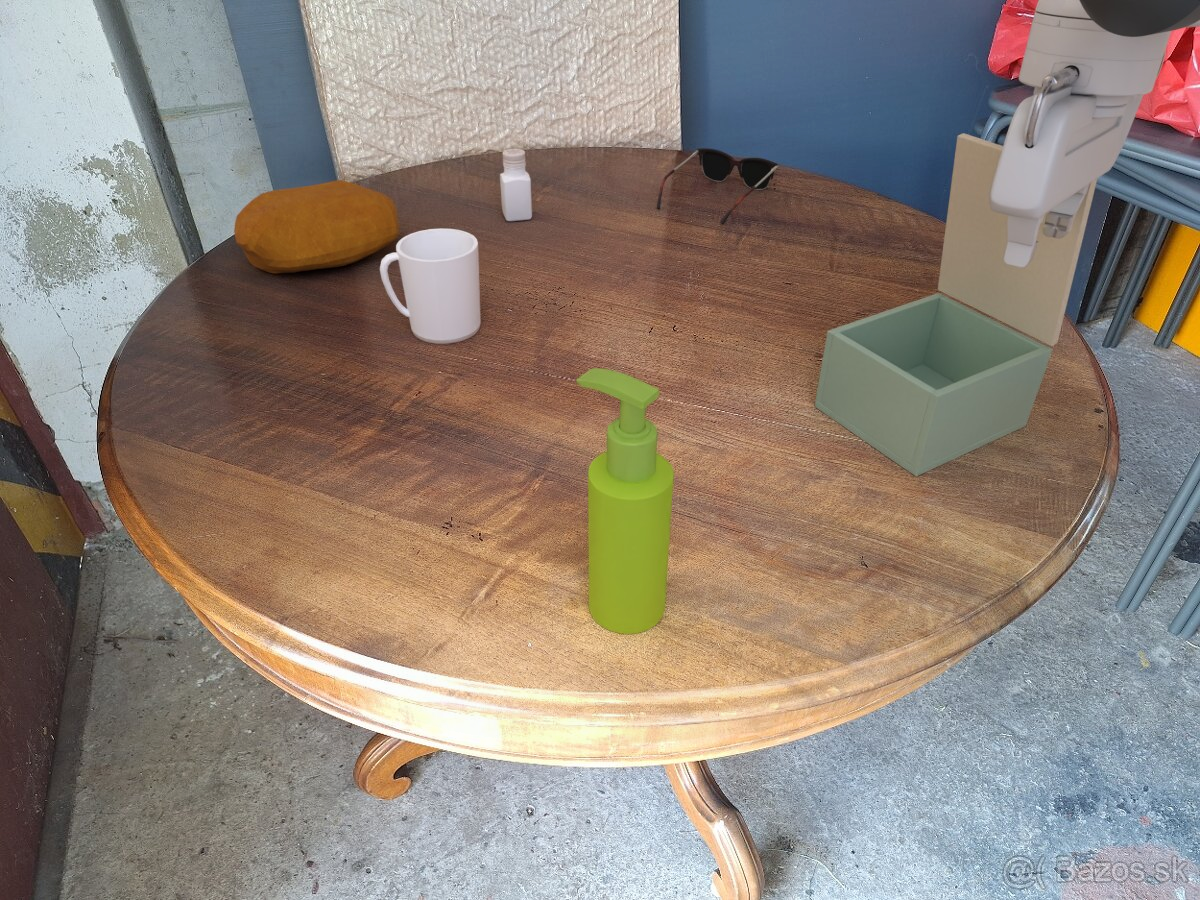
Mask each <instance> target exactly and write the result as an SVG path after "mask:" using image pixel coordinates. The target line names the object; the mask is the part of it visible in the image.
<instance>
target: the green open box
mask: <svg viewBox="0 0 1200 900" xmlns="http://www.w3.org/2000/svg"><path fill="white" fill-rule="evenodd" d="M824 344H825V345H824V349H823V354H822V360H821V366H820V370H819V371H820V372H819V378H818V383H817V387H816V388H817V389H816V394H815V402H814V408H816V410H817V409H818V410H819V411H820V412H822V413H823V414H824V415H826V416H827V417H829V418H830V419H832V420H833V421H835V422H836V423H838V424H839V425H840V426H842V427H843V428H845V429H846V430H848V431H849V432H851V433H852V434H853V435H855V436H857V437H858V438H859V439H860V440H862V441H863V442H865V443H866V444H868V445H869V446H871V447H873V448H874V449H875V450H876V451H878V452H880V453H881V454H882V455H884V456H885V457H887V458H888V459H890V460H892V461H893V462H894V463H895V464H897V465H898V466H900V467H901V468H903V469H904V470H906V471H907V472H908V473H910V474H911V475H913V476H914V477H918V476H920V475H922V474H925V473H927V472H929V471H931V470H933V469H935V468H938V467H941V466H942V465H945V464H946V463H949V462H950V461H953V460H955V459H958V458H960V457H961V456H962V457H963V456H964V455H966V454H968V453H970V452H973V451H975V450H977V449H980V448H982V447H984V446H987V445H988V444H990V443H993V442H994V441H996V440H998V439H1001V438H1003V437H1005V436H1008V435H1009V434H1012V433H1014V432H1016V431H1018V430H1020V429H1022V428H1024V427H1027V424H1028V422H1029V418H1030V416H1031V413H1032V410H1033V407H1034V404H1035V402H1036V399H1037V396H1038V394H1039V390H1040V387H1041V384H1042V382H1043V380H1044V379H1043V378H1044V376H1045V373H1046V370H1047V367H1048V365H1049V361H1050V359H1051V356H1052V354H1053V351H1054V350H1053V348H1051V347H1049V346H1048V345H1046V344H1043V343H1041V342H1039V341H1038V340H1035V339H1034V338H1032V337H1030V336H1027V335H1025V334H1023V333H1021V332H1019V331H1018V330H1014V329H1013V328H1011V327H1009V326H1007V325H1005V324H1003V323H1001V322H999V321H998V320H996V319H993V318H992V317H989V316H988V315H984V314H983V313H980V312H979V311H978V310H975V309H973V308H971V307H970V306H968V305H967V306H966V305H965V304H964V303H963V304H962V303H960V302H959V301H956V300H955V299H952V297H948V295H947V296H946V295H944V293H942V292H937V293H934V294H931V295H929V296H928V295H927V296H926V297H922V298H920V299H917V300H914V301H911V302H908V303H905V304H902V305H899V306H896V307H893V308H890V309H887V310H885V311H881V312H879V313H875V314H873V315H870V316H867V317H864V318H861V319H858V320H855V321H852V322H850V323H847V324H844V325H840V326H838V327H835V328H832V329H829V330H827V331H826V338H825V343H824Z"/></svg>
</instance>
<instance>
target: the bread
mask: <svg viewBox="0 0 1200 900" xmlns="http://www.w3.org/2000/svg"><path fill="white" fill-rule="evenodd" d="M397 211H398V210H397V206H396V205H395V203H394V201H393V199H392V198H391V197H389V196H388V195H386V194H384V193H383V192H380V191H377V190H374V189H371V188H368V187H366V186H362V185H360V184H358V183H354V182H350V181H346V180H342V179H337V180H332V181H327V182H323V183H318V184H312V185H311V184H310V185H306V186H305V185H304V186H298V187H290V188H289V187H288V188H281V189H275V190H274V189H273V190H271V191H266V192H262V193H260V194H259V195H257V196H256V197H254V198H253V199H251V200H250V201H249V202H248V203H247V204H246V205H245V206H244V207H243V208H242V209H241V210H240V211H239V213H237V215H236V218H235V222H234V228H233V229H234V230H233V231H234V232H233V234H234V237H235V242H236V244H237V246H239V247H240V249H241V250H242V251H243V253H244V255H245V258H246V259H247V260H248V262H249V263H250V265H252V266H253V267H255V268H256V269H259V270H262V271H263V272H266V273H270V274H289V273H290V274H291V273H299V272H304V271H313V270H322V269H332V268H339V267H344V266H347V265H350V264H354V263H357V262H358V261H361V260H363V259H364V258H367V257H370V256H372V255H373V254H376V253H377V252H379V251H381V250H382V249H384V248H386V247H387V246H389V245H390V244H392V243H393V242H394V241H395V240H396V239H397V238H398V237H399V234H400V224H399V218H398V212H397Z"/></svg>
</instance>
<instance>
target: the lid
mask: <svg viewBox="0 0 1200 900" xmlns="http://www.w3.org/2000/svg"><path fill="white" fill-rule="evenodd" d="M1002 148H1003V145H1001V144H998V143H994V142H992V141H988V140H986V139H984V138H983V139H982V138H980V137H976V136H975V135H974V136H973V135H970V134H967V133H964V132H962V133H960V134H959V135H957V137H956V145H955V153H954V160H953V169H952V176H951V184H950V191H949V199H948V200H949V201H948V208H947V215H946V222H945V231H944V238H943V246H942V253H941V262H940V269H939V274H938V275H939V277H938V284H937V291H939V292H940V293H942V294H946V295H947V296H950V298H954V300H955V299H956V300H958V302H959V301H960V302H962V303H963V304H964V305H965V304H966V305H967V306H968V307H970V308H971V307H972V308H974V309H976V310H977V311H980V312H982V313H984V314H986V315H987V316H990V317H991V318H994V319H995V320H997V321H1000V322H1002V323H1004V324H1006V325H1008V326H1010V327H1012V328H1014V329H1016V330H1017V331H1020V332H1022V333H1024V334H1026V335H1028V336H1029V337H1031V338H1033V339H1037V341H1040V342H1043V343H1044V344H1045V345H1046V344H1047V345H1049V346H1051V347H1053V346H1054V345H1057V344H1058V342H1059V338H1060V335H1061V331H1062V326H1063V322H1064V318H1065V313H1066V310H1067V306H1068V301H1069V297H1070V293H1071V289H1072V285H1073V280H1074V277H1075V272H1076V268H1077V264H1078V260H1079V256H1080V252H1081V249H1082V243H1083V240H1084V235H1085V233H1086V227H1087V223H1088V219H1089V215H1090V210H1091V207H1092V203H1093V198H1094V194H1095V190H1096V186H1097V183H1098V178H1097V179H1096V180H1094V181H1093V182H1091V183H1090V184H1089V187H1088V191H1087V193H1086V195H1085V197H1084V199H1083V201H1082V203H1081V205H1080V207H1079V209H1078V211H1077V213H1076V214H1075V217H1074V221H1073V224H1072V227H1071V230H1070V232H1069V233H1068V234H1067V235H1066V236H1064V237H1062V238H1060V239H1058V238H1054V237H1048V236H1045V235H1044V234H1043V227H1044V225H1045V220H1046V217H1047V214H1048V213H1049V212H1050V211H1048V212H1047V213H1045V215H1044V218H1043V221H1042V223H1040V225H1039V230H1038V234H1037V239H1036V241H1038V245H1037V249H1036V251H1035V256H1034V259H1033V260H1032V261H1031V262H1030V263H1028V264H1027V265H1026V266H1025V267H1017V266H1013V265H1008V264H1006V263H1005V262H1004V254H1005V250H1006V246H1007V242H1008V239H1007V219H1008V215H1006V214H1001V213H997V212H994V211H992V210H991V209H990V190H991V186H992V182H993V179H994V175H995V172H996V168H997V165H998V161H999V158H1000V155H1001V152H1002Z"/></svg>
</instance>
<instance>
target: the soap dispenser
mask: <svg viewBox="0 0 1200 900" xmlns="http://www.w3.org/2000/svg"><path fill="white" fill-rule="evenodd" d="M575 381H576V383H577V384H578V385H579V387H582V388H587V389H592V390H595V391H598V392H602V393H604V394H607V395H608V396H612V397H614V398H615V399H617V400H619V418H615V419H614V420H613V421H611V422H610V423H609V424H608V426H607V428H606V451H603V452H602V453H600V454H598V455H597V456H596V457H595V458H594V459H593V460H592V461H591V463H590V464H589V467H588V471H587V472H588V473H587V494H588V495H587V499H588V500H587V506H588V507H587V508H588V509H587V511H588V512H587V513H588V514H587V515H588V517H587V518H588V519H587V520H588V521H587V523H588V527H587V529H588V533H587V534H588V609H589V613H590V615H591V617H592V619H593V620H594V621H595V622H596V623H597V624H598V625H599V626H601V627H602V628H604V629H605V630H608V631H610V632H613V633H616V634H621V635H622V634H623V635H632V634H639V633H643V632H646V631H648V630H650V629H652V628H653V627H655V626H656V625H657V624H658V623H659V622H660V621H661V620H662V618H663V617H664V615H665V611H666V598H667V584H668V583H667V582H668V571H669V570H668V569H669V568H668V567H669V553H670V537H671V526H672V525H671V522H672V509H673V508H672V507H673V496H674V495H673V493H674V477H675V472H674V468H673V466H672V464H671V463H670V461H669V460H668V459H667V458H665V456H663V455H661V454H660V453H658V452H657V451H658V428H657V426H656V424H655V423H653V422H652V421H651V420H649V419H648V418H647V417H646V415H647V407H648V406H650V405H651V404H652V403H654V402H655V401H656V400H657V399H658V398H659V397H660V389H659V388H657V387H655V386H653V385H651V384H649V383H647V382H645V381H642V380H641V379H639V378H636V377H634V376H631V375H629V374H626V373H623V372H620V371H618V370H617V371H616V370H614V369H613V370H612V369H607V368H599V367H592V368H590V369H589V370H587V371H586V372H585V373H583V374H581V376H579V377H577V378H576V379H575Z"/></svg>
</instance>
